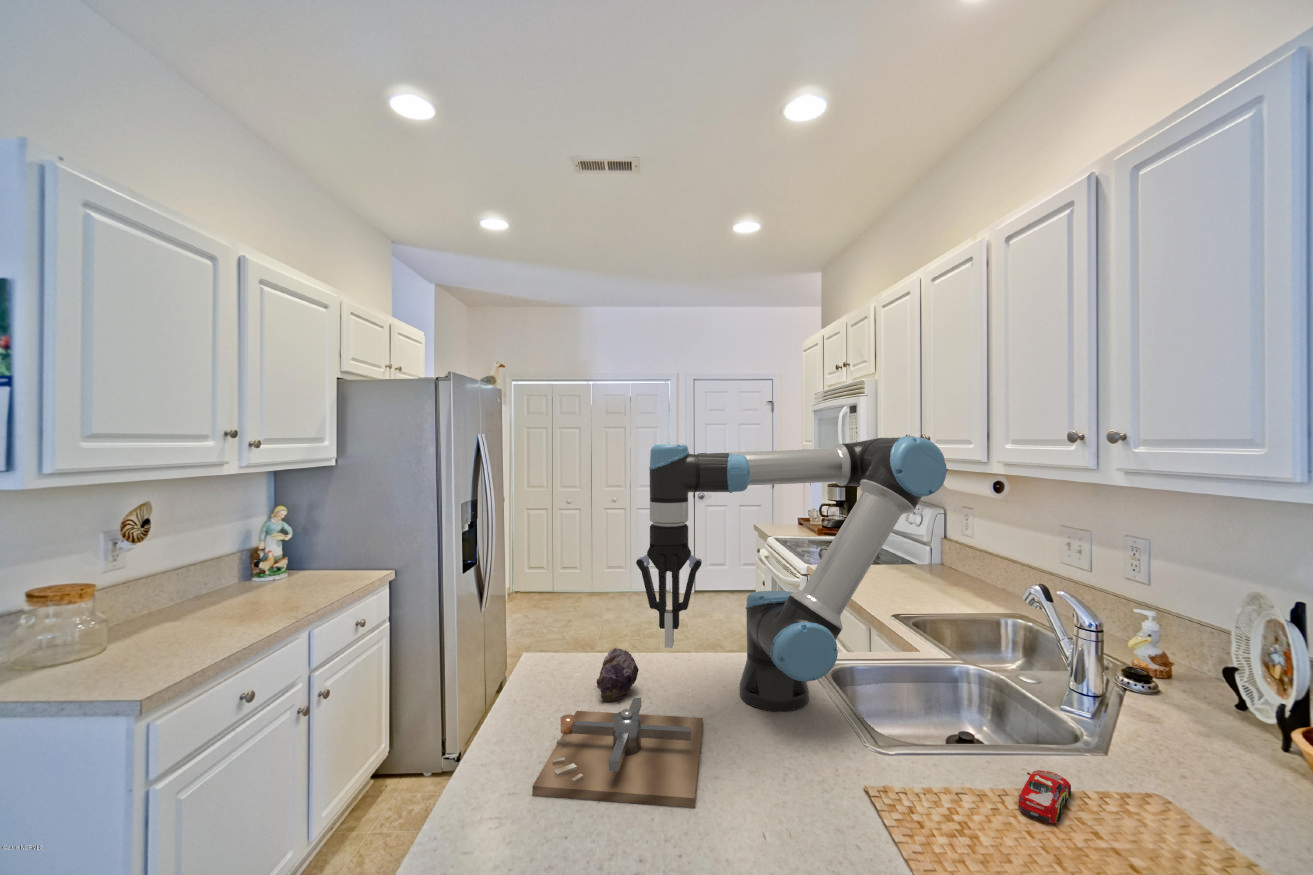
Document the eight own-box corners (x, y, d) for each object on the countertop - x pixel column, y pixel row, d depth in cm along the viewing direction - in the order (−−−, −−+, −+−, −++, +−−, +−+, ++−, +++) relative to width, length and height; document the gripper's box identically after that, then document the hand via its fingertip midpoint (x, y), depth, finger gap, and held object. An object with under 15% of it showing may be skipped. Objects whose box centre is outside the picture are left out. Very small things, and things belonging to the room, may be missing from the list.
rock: (593, 708, 123) (640, 706, 123) (592, 672, 122) (638, 670, 122) (597, 678, 134) (639, 676, 135) (595, 645, 133) (638, 643, 134)
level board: (703, 725, 113) (702, 714, 113) (694, 807, 87) (694, 793, 87) (576, 717, 116) (576, 707, 116) (532, 795, 90) (532, 781, 90)
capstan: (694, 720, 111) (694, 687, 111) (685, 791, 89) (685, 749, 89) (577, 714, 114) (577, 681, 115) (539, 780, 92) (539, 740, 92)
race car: (1035, 778, 94) (1035, 754, 94) (1075, 793, 90) (1074, 767, 90) (1012, 813, 85) (1011, 787, 85) (1055, 831, 81) (1054, 803, 81)
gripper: (703, 521, 113) (703, 640, 112) (639, 520, 114) (639, 637, 114) (701, 526, 105) (701, 653, 105) (632, 525, 107) (632, 650, 106)
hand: (669, 645), depth 109 cm, fingers closed
